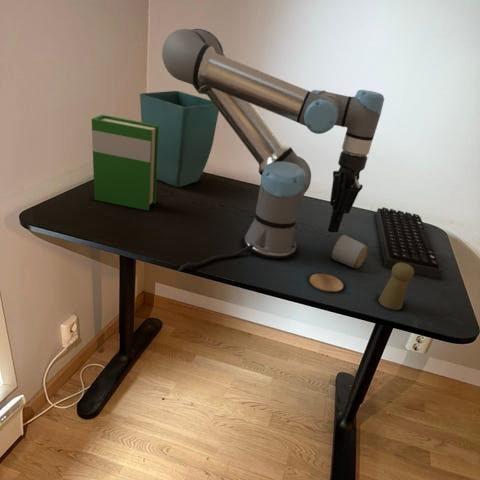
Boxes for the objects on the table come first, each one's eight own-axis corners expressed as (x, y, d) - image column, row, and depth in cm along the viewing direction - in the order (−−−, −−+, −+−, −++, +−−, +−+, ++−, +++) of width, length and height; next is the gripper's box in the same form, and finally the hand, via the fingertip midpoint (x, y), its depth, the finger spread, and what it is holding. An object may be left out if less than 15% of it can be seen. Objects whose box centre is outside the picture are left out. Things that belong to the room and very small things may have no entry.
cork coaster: (319, 293, 115) (319, 291, 114) (304, 275, 121) (304, 274, 121) (349, 291, 118) (349, 290, 117) (332, 274, 124) (333, 272, 124)
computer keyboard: (438, 278, 132) (443, 267, 130) (384, 266, 133) (389, 255, 131) (417, 223, 169) (421, 213, 167) (375, 214, 170) (379, 205, 168)
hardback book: (155, 202, 148) (159, 125, 134) (148, 210, 142) (151, 130, 128) (103, 192, 149) (102, 114, 135) (94, 199, 143) (91, 118, 129)
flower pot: (178, 193, 158) (185, 106, 142) (136, 177, 166) (138, 92, 150) (212, 183, 173) (221, 103, 157) (172, 168, 180) (177, 90, 164)
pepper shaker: (403, 302, 117) (419, 264, 111) (400, 312, 113) (416, 274, 106) (380, 294, 119) (394, 257, 113) (376, 304, 114) (391, 266, 108)
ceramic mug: (354, 273, 127) (363, 248, 123) (328, 262, 130) (335, 237, 126) (367, 262, 135) (376, 238, 130) (343, 252, 138) (350, 228, 134)
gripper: (378, 160, 122) (354, 240, 135) (354, 147, 131) (333, 222, 145) (355, 159, 119) (332, 241, 132) (331, 145, 129) (312, 222, 142)
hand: (332, 231), depth 139 cm, fingers closed
